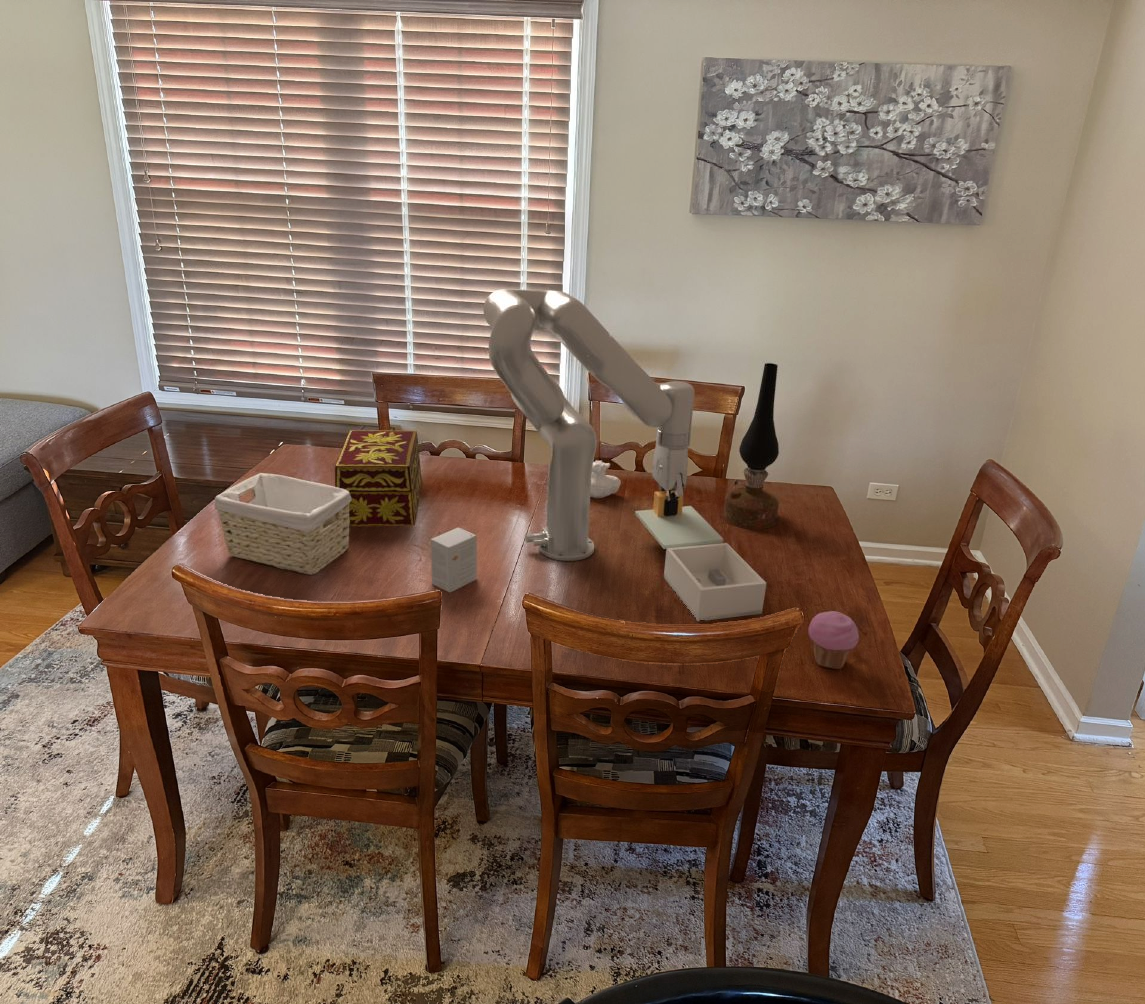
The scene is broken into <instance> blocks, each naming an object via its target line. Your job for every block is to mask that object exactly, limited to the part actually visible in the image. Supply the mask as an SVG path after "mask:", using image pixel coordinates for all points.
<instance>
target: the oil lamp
mask: <svg viewBox="0 0 1145 1004" xmlns="http://www.w3.org/2000/svg"><path fill="white" fill-rule="evenodd" d="M778 368H779V367H778V364H776V363H771V362H769V363H764V366H763V371H762V376H761V381H760V386H759V387H760V388H759V393H758V398H757V403H756V407H755V411H754V415H753V418H752V420H751V422H750V424H749V426H748V429H747V431H746V432H745V435H744V436H743V437H742V439H741V442H740V445H739V455H740V459H741V460H742V461H743V462H744V463H745V464H746V466H747V467H746V468H744V469H743V471H742V472H743V476H744V478H745V482H744V484H743V483H740V482H739V480H738V478H737V479H735V480H734V481H733V485H734V486H737V485H741V486H743V487H740V488H736V489H733V490H730V491H728V492H727V493H726V494H725V498H724V505H723V510H722V513H721V515H722V518H723V519H724V520H725V521H726V522H728V523H729V524H732V525H734V526H736V527H739V528H744V529H750V530H751V529H752V530H763V529H768V528H772V527H774V526H775V525H776V524H777V522H778V511H779V504H780V503H779V500H778V498H777V497H776V496H775V495H773V494H772V493H770V492H768V491H766V490H764V483H765V480H766V479H767V478H768V476H769V472H768V471H767V470H766V469H767V468H768V467H770V466H771V465H772V464H774V463H775V462H776V460H777V459H778V456H779V453H780V451H779V450H780V449H779V441H778V438H777V434H776V427H775V426H776V425H775V420H774V417H775V416H774V411H775V396H776V386H777V377H778Z"/></svg>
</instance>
